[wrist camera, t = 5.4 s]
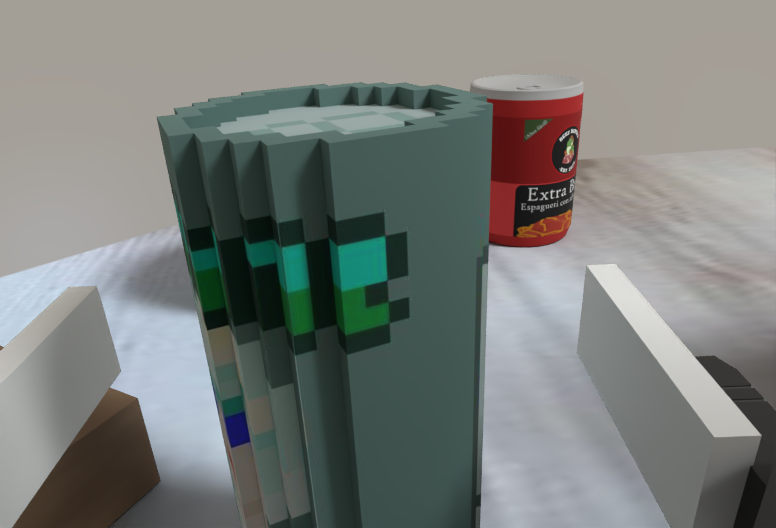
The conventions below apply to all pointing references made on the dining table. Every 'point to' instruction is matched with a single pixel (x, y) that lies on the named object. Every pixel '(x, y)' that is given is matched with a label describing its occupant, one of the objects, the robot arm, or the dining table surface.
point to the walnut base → (97, 470)
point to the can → (342, 296)
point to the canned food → (532, 156)
